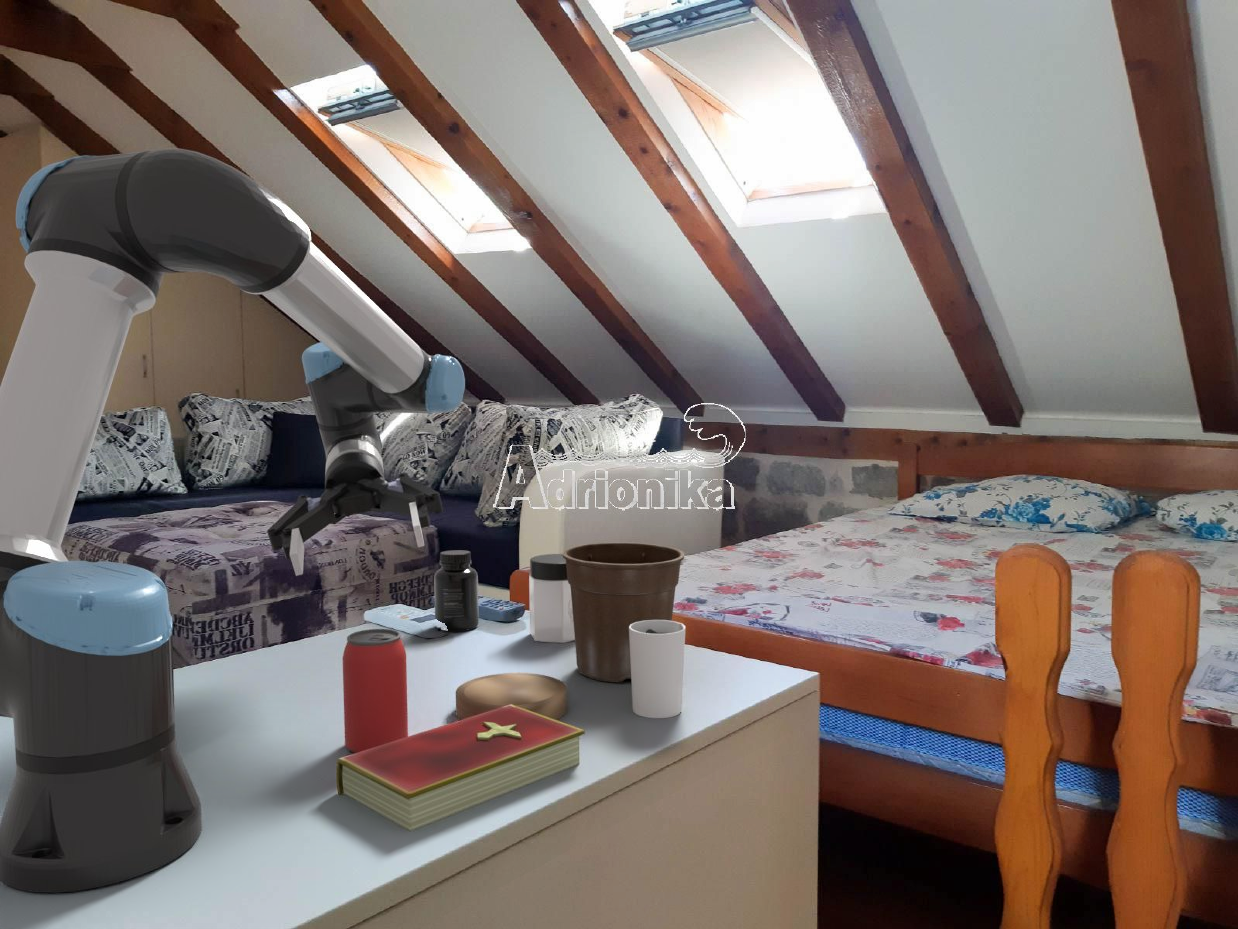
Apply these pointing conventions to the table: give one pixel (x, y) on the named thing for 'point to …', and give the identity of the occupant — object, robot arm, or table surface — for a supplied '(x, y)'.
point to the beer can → (374, 689)
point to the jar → (550, 600)
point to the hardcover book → (458, 765)
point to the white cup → (657, 667)
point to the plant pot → (617, 600)
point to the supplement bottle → (456, 591)
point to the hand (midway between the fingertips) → (358, 550)
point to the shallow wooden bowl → (512, 694)
